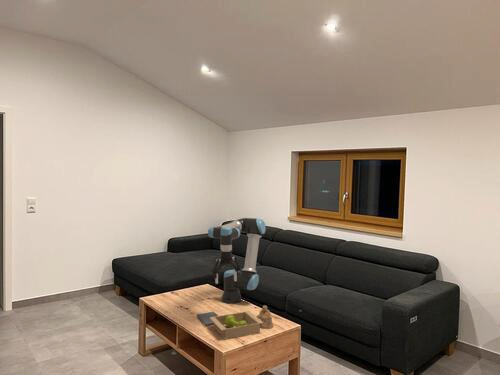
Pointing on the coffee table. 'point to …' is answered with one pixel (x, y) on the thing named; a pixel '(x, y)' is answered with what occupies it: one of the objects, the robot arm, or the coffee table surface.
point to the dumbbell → (233, 321)
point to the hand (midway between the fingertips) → (226, 282)
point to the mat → (206, 318)
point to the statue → (265, 318)
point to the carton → (241, 330)
